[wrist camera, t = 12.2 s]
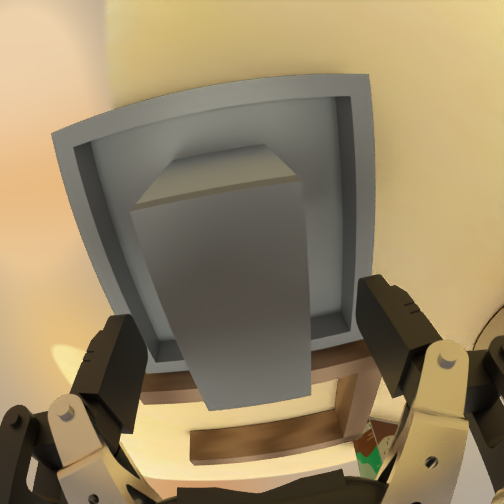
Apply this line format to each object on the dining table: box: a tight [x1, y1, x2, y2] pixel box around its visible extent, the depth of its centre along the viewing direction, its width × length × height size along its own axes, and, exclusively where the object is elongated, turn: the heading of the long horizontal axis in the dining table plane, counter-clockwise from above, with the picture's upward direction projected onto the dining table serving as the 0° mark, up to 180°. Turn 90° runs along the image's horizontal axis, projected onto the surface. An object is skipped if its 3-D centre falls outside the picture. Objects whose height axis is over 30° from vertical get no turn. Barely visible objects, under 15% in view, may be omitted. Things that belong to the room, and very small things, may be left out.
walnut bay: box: [140, 339, 382, 466], centre depth 22 cm, size 16×14×4 cm
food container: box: [353, 417, 399, 480], centre depth 26 cm, size 12×6×10 cm, turn 53°
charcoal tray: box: [51, 74, 375, 374], centre depth 15 cm, size 14×15×2 cm
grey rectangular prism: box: [130, 144, 311, 411], centre depth 12 cm, size 4×9×7 cm, turn 8°
